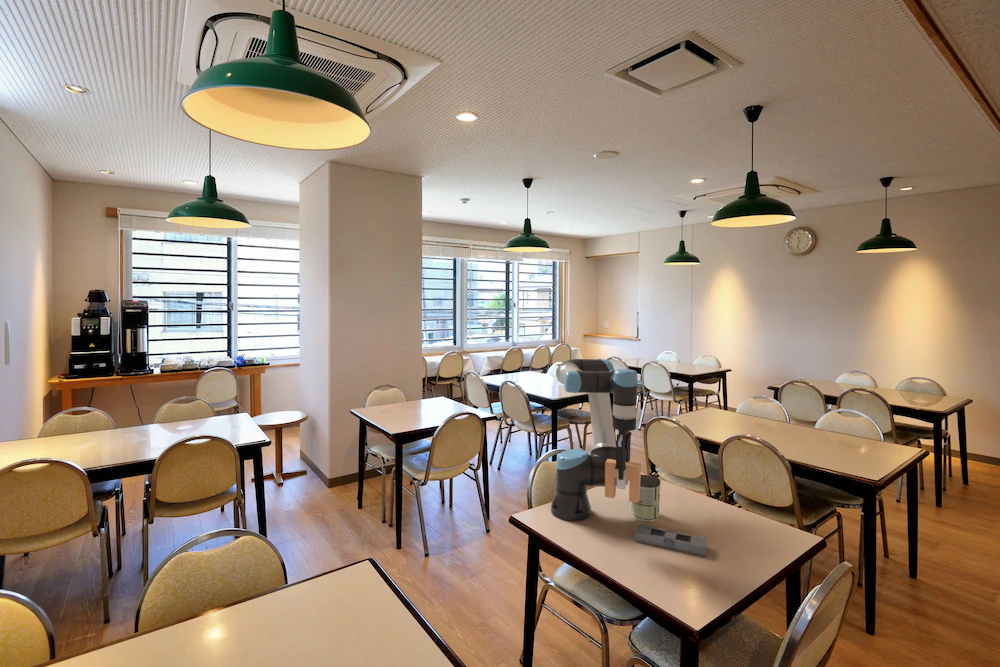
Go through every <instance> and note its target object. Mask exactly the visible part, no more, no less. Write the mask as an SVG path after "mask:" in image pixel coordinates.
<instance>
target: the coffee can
mask: <svg viewBox="0 0 1000 667" xmlns="http://www.w3.org/2000/svg"><path fill="white" fill-rule="evenodd" d="M660 495H661V479H660V478H659V477H656V476H653V475H650V474H641V481H640V501H639V503H635V502H631V514H630V515H631V516H632V518H634V519H636V520H638V521H641V522H648V523H649V522H650V523H651V522H656V521H658V520H659V519H660V505H661V504H660V503H661V501H660V498H661V497H660Z"/></svg>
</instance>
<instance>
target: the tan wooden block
mask: <svg viewBox="0 0 1000 667" xmlns="http://www.w3.org/2000/svg"><path fill="white" fill-rule="evenodd" d="M615 467H616V460H613V459H607V460H606V462H605V487H604V497H605V498H610V499H614V498H615V497H616V494H617V493H616V492H617V490H616V489H617V486H616V479H617V469H615ZM625 469H626V480H628V486H629V489H628V491H629V492H628V502H630V503H632V502H635V503H639V501H640V481H641V475H642V463H636V462H631V461H629V462H626V464H625Z"/></svg>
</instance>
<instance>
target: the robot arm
mask: <svg viewBox="0 0 1000 667" xmlns="http://www.w3.org/2000/svg"><path fill="white" fill-rule="evenodd" d="M555 375H556V378H557V380H558V382H560V383H561V384H562V385H564V387H563V388H564V391H565V392H566V393H572V394H580V393H581V394H583V393H585V394H588V404H589V414H590V422H591V432H592V439H593V440H592V442H593V447H592V449H591V450H590V454H588V451H586V450H584V449H578V448H575V449H566V450H563V451H561V452H560V453H558V454H557V456H556V462H555V463H556V464H555V469H556V476H555V477H556V478H555V479H556V480H555V493H554V496H553V498H552V501H551V504H550V512H551V514H552V515H553V516H555V517H557V518H558V519H561V520H563V521H564V520H565V521H576V522H577V521H583V520H586V519H588V518H589V517H590V516H591V515H592V507H591V504H590V501H589V496H588V493H587V492H588V489H587V488H588V487H604V488H605V462H606V460H607V459H613V460H616V467H615V469H617V479H616V489H618V490H626V486H629V481H628V480H626V469H625V464H626V462H631V442H632V431H635V430H636V428H637V418H636V417H637V412H638V411H639V407H637V404H638V403H637V402H638V383H639V381H638V380H639V379H638V372H637V371H636V370H634V369H628V368H627V369H626V368H620V369H618V368H617V369H615V368H614V366H613V363H612V361H610V359H603V358H595V359H594V358H574V359H573V358H572V359H571V358H570V359H567V360H565V361H563V362H562V363H560V364H559V365H558V366H557V368H556V370H555ZM610 394H613V396H612V398H613V399H612V400H613V401H612V402H611V397H610ZM611 403H612V404H611ZM615 430H617V431H618V434H616V435H615Z"/></svg>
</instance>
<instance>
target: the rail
mask: <svg viewBox="0 0 1000 667" xmlns="http://www.w3.org/2000/svg"><path fill="white" fill-rule="evenodd" d="M634 542H637V543H643V544H647V545H651V546H655V547H661V548H665V549H668V550H673V551H678V552H682V553H687V554H691V555H695V556H699V557H703V558H704V557H705V558H706V557H707V556H706V554H707V545H708V544H707V543H708V538H707V537H704V536H698V535H693V534H689V533H685V532H684V533H683V532H680V531H675V530H670V529H666V528H665V529H664V528H660V527H656V526H651V525H645V524H642V523H638V525H637V527H636V529H635V532H634Z"/></svg>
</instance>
